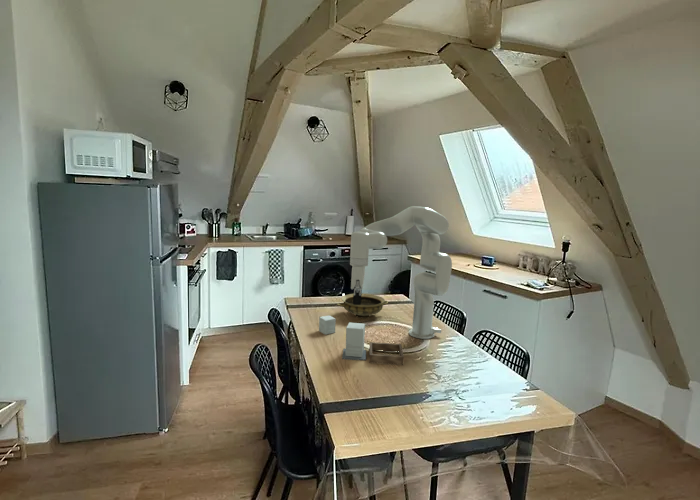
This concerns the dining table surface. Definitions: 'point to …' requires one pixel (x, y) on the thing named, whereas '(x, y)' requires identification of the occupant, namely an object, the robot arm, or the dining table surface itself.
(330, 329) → the product box
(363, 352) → the pad
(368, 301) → the ceramic bowl
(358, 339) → the supplement box
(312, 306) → the dining table surface
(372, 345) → the wooden square frame
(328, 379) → the dining table surface
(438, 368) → the dining table surface
